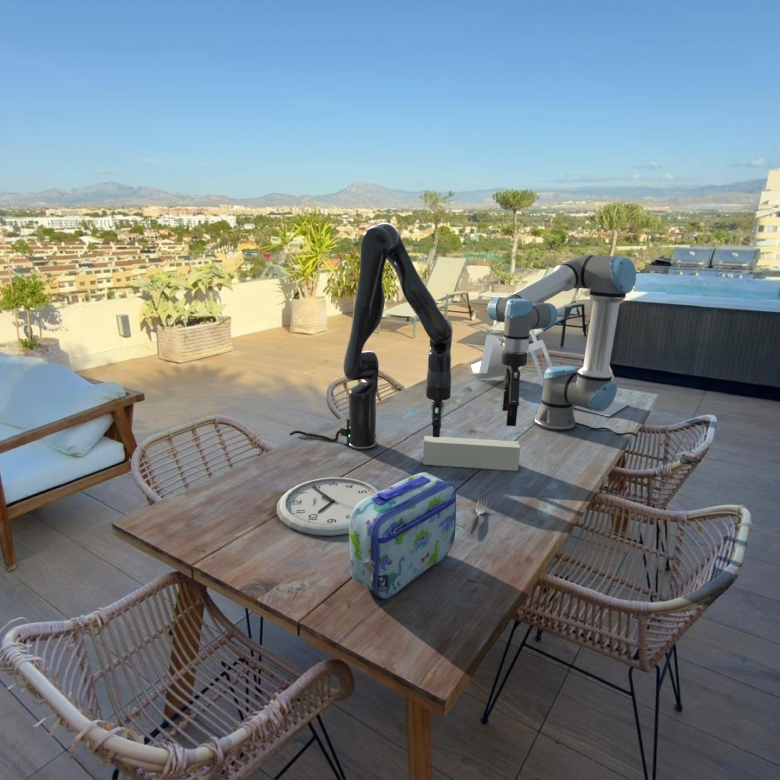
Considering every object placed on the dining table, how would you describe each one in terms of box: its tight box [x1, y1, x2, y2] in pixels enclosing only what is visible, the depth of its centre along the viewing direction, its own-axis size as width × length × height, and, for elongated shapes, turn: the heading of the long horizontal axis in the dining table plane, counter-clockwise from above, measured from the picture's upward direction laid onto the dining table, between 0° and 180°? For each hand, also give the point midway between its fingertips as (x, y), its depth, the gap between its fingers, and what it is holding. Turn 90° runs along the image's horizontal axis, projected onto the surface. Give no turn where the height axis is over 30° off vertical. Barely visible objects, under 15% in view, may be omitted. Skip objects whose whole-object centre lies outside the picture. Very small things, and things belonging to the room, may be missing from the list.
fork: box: [470, 498, 488, 535], centre depth 136 cm, size 3×16×2 cm, turn 160°
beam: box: [422, 435, 521, 472], centre depth 168 cm, size 30×5×8 cm, turn 83°
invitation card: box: [573, 400, 629, 418], centre depth 226 cm, size 21×1×15 cm
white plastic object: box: [470, 329, 554, 388], centre depth 255 cm, size 37×45×31 cm
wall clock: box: [276, 476, 381, 537], centre depth 142 cm, size 30×2×30 cm
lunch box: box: [348, 471, 457, 600], centre depth 113 cm, size 26×11×21 cm, turn 134°
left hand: (436, 432), depth 166 cm, fingers open, 8 cm apart
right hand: (508, 417), depth 163 cm, fingers open, 13 cm apart
